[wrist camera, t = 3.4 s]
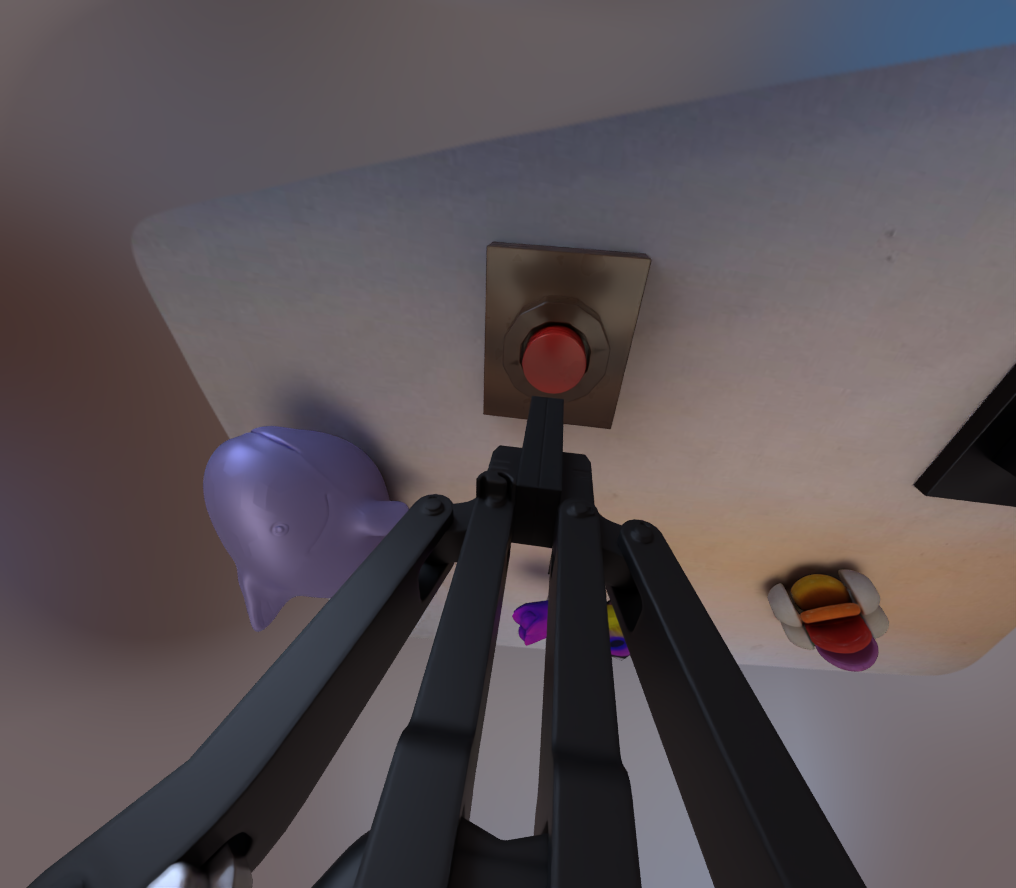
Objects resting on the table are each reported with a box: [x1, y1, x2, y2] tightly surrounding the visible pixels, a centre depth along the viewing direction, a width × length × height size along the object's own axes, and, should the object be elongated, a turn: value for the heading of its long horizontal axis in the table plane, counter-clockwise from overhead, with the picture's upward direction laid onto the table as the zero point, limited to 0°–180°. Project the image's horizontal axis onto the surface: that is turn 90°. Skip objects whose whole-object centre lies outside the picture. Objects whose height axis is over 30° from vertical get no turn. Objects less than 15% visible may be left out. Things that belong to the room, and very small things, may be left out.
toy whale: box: [203, 426, 409, 631], centre depth 35 cm, size 14×25×16 cm, turn 9°
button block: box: [483, 242, 651, 429], centre depth 27 cm, size 12×10×4 cm
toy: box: [512, 599, 630, 661], centre depth 40 cm, size 12×19×10 cm, turn 84°
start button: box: [522, 325, 586, 394], centre depth 25 cm, size 4×4×2 cm
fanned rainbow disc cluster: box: [768, 570, 889, 672], centre depth 36 cm, size 8×10×7 cm
